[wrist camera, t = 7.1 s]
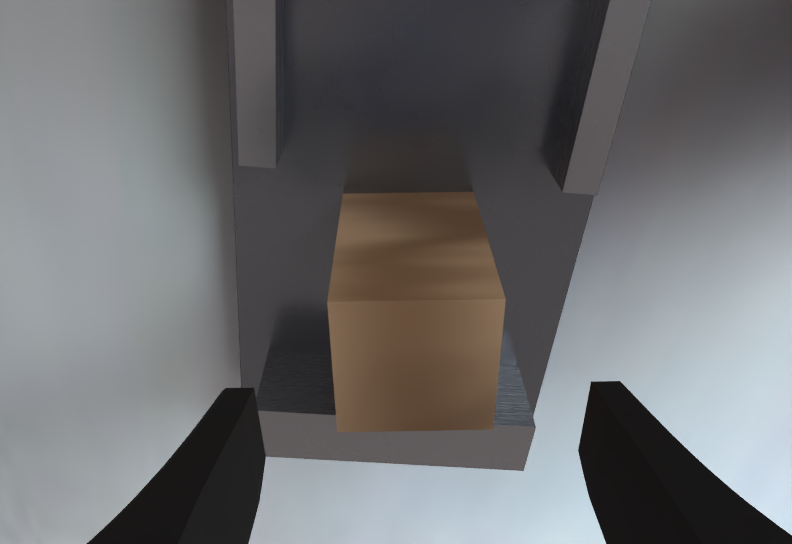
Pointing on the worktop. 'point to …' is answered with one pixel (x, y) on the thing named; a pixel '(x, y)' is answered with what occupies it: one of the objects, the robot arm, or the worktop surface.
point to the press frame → (414, 182)
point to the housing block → (414, 314)
